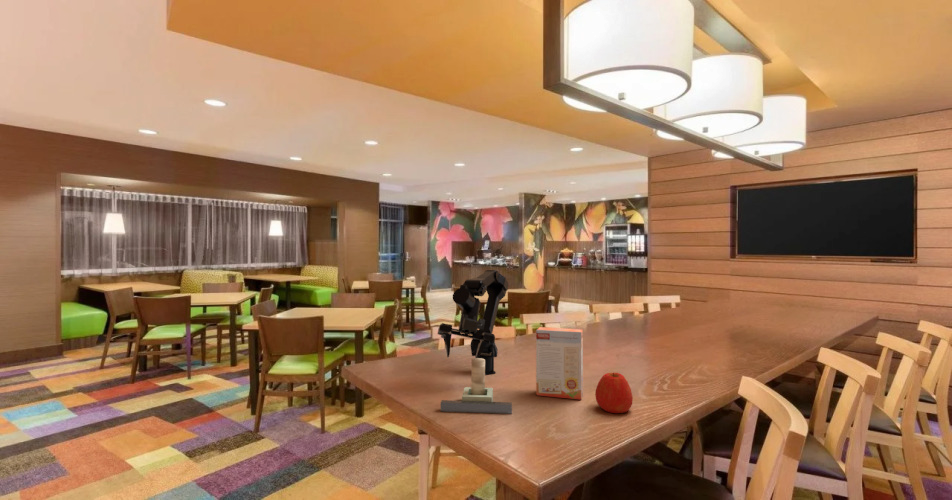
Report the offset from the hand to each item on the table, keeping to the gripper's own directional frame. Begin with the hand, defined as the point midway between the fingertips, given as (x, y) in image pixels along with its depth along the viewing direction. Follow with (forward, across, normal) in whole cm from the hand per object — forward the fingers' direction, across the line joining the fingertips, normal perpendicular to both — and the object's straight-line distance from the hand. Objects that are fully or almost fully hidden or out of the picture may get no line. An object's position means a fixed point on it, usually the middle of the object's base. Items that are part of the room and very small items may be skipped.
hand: (461, 360), depth 142 cm
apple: (+9, +43, -20) cm, 48 cm away
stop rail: (+16, +5, -14) cm, 22 cm away
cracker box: (+6, +32, -6) cm, 33 cm away
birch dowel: (+13, +6, -9) cm, 17 cm away
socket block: (+14, +6, -9) cm, 17 cm away
